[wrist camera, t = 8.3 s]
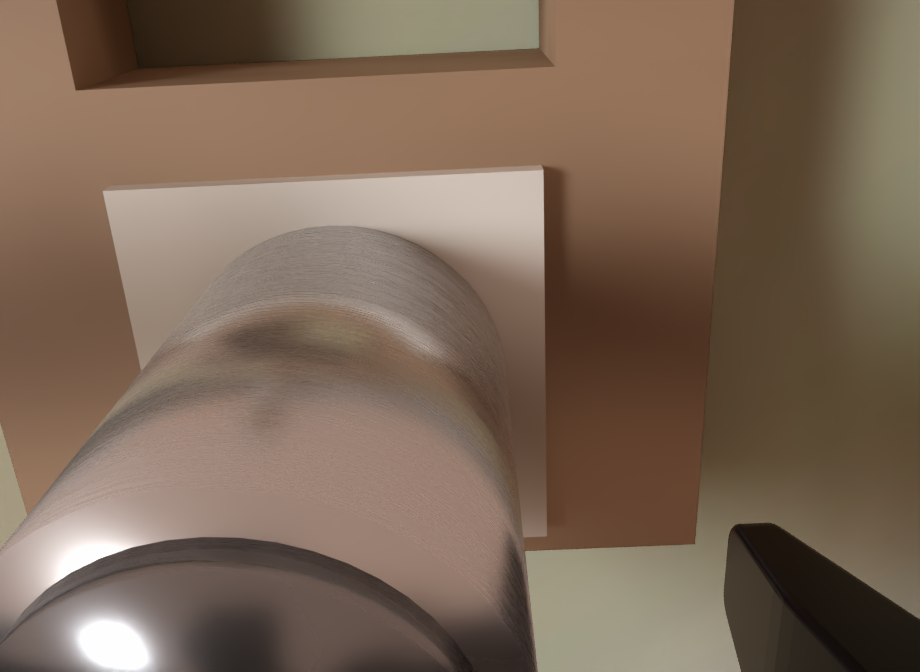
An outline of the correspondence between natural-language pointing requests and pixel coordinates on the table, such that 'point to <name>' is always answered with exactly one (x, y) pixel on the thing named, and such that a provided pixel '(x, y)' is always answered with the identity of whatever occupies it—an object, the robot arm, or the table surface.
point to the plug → (291, 485)
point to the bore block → (387, 226)
